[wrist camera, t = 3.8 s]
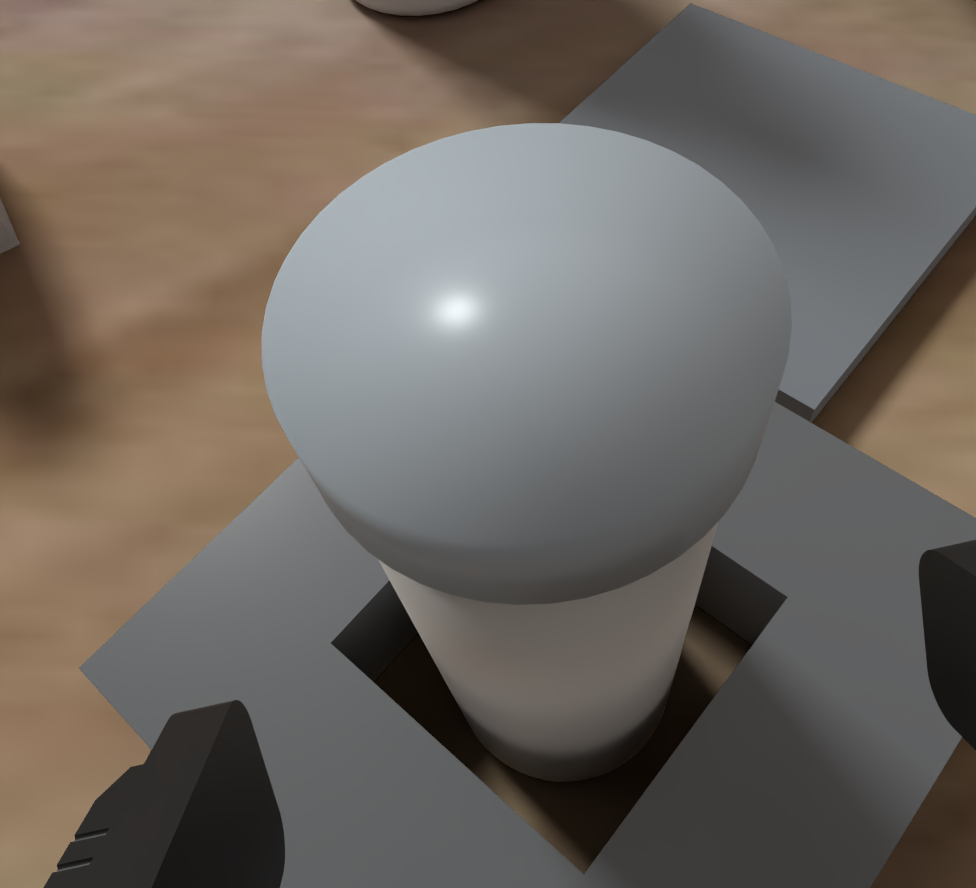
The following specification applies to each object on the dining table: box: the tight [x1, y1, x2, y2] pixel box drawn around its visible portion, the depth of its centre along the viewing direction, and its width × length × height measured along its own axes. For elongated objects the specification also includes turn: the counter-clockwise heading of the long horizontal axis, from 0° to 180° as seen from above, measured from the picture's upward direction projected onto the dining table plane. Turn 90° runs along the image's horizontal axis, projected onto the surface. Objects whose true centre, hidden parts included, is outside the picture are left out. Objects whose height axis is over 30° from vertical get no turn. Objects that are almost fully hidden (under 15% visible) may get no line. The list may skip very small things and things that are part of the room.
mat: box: [559, 4, 976, 423], centre depth 27 cm, size 12×12×1 cm
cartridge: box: [262, 123, 792, 782], centre depth 15 cm, size 5×5×14 cm
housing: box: [79, 402, 976, 888], centre depth 19 cm, size 14×14×4 cm
